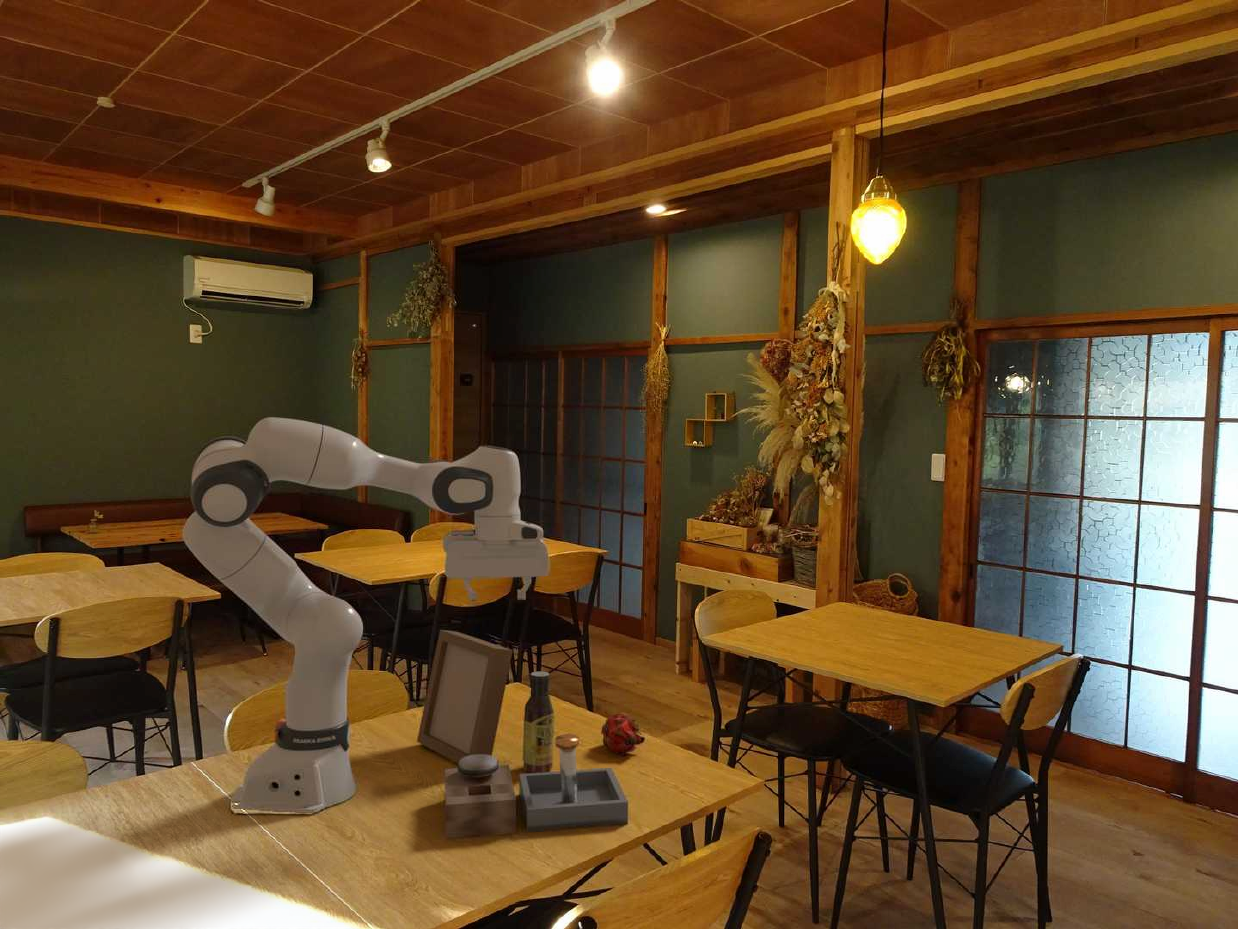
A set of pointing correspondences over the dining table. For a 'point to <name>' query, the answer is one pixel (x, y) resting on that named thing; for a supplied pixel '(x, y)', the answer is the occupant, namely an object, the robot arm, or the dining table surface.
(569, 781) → the lock pin
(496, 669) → the photo frame
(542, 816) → the tray
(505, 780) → the brown block with knob
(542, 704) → the sauce bottle
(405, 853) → the dining table surface
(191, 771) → the dining table surface
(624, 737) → the dragon fruit
